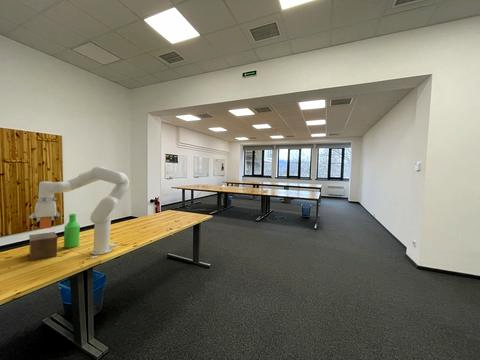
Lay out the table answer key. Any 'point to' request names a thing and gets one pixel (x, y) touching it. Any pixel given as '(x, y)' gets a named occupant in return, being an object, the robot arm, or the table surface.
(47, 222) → the cube
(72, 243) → the bottle
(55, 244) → the shelf
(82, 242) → the table surface
